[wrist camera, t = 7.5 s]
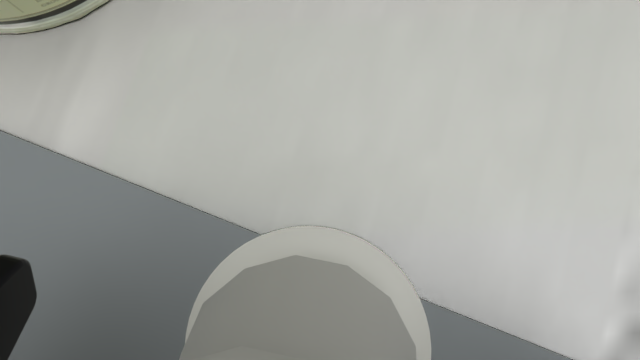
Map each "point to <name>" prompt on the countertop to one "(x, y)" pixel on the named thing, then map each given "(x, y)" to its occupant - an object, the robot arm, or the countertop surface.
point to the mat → (173, 267)
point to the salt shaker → (299, 316)
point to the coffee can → (41, 13)
